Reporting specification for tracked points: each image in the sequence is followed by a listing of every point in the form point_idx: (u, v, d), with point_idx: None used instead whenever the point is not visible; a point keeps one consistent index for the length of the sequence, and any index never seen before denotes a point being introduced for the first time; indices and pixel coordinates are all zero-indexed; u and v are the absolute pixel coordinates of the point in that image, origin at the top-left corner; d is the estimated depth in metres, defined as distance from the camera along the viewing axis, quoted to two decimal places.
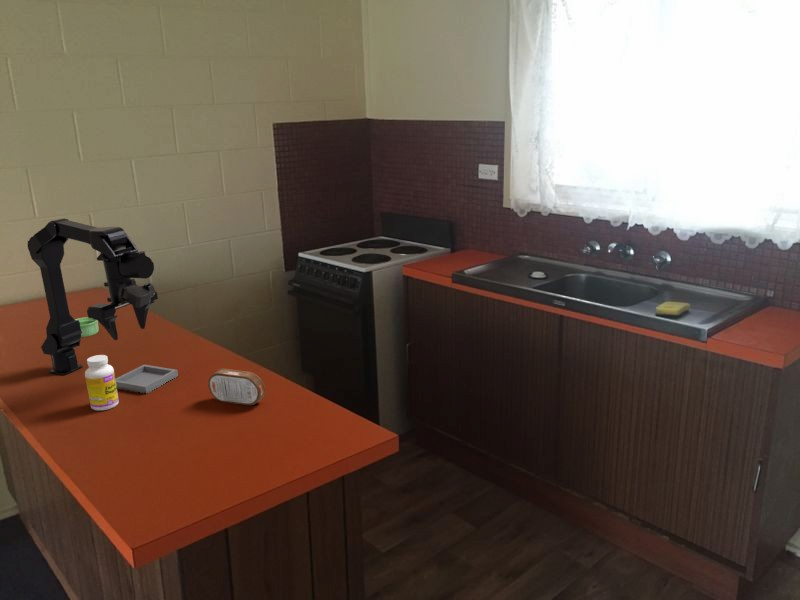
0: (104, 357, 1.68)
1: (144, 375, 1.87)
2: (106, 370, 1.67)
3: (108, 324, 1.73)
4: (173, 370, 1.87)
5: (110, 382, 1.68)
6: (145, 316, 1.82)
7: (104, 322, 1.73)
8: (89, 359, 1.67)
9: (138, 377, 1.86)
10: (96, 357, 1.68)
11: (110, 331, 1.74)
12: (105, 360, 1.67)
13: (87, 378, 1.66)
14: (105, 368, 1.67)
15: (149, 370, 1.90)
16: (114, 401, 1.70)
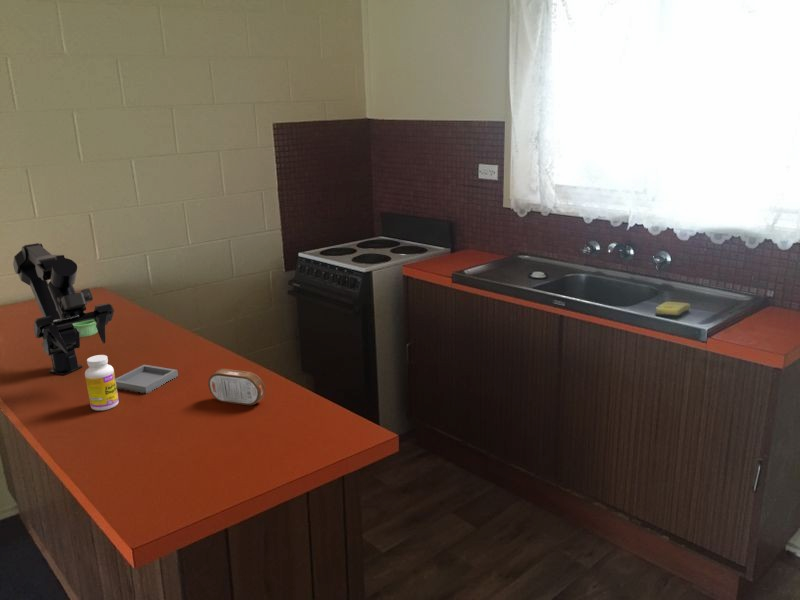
0: (104, 357, 1.68)
1: (144, 375, 1.87)
2: (106, 370, 1.67)
3: (55, 338, 1.71)
4: (173, 370, 1.87)
5: (110, 382, 1.68)
6: (102, 329, 1.77)
7: (53, 338, 1.72)
8: (89, 359, 1.67)
9: (138, 377, 1.86)
10: (96, 357, 1.68)
11: (59, 345, 1.71)
12: (105, 360, 1.67)
13: (87, 378, 1.66)
14: (105, 368, 1.67)
15: (149, 370, 1.90)
16: (114, 401, 1.70)
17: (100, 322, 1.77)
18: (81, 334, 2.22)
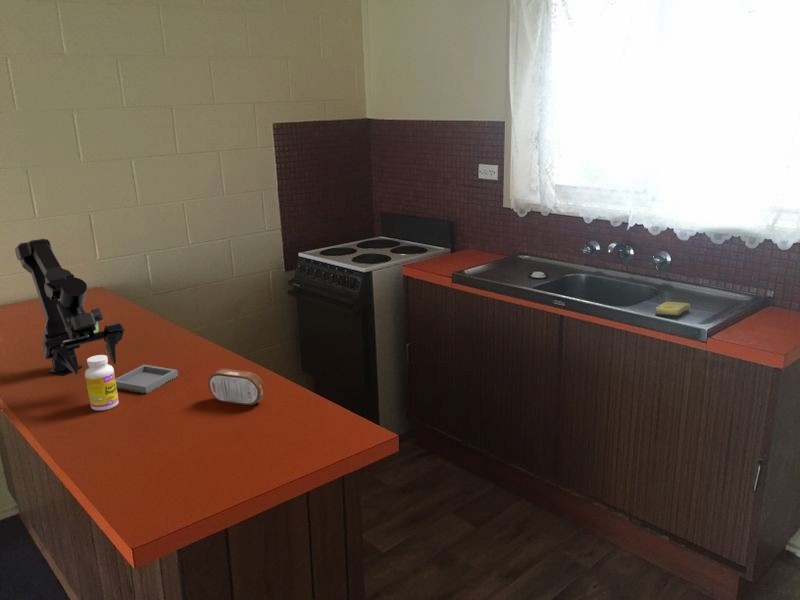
0: (104, 357, 1.68)
1: (144, 375, 1.87)
2: (106, 370, 1.67)
3: (65, 359, 1.68)
4: (173, 370, 1.87)
5: (110, 382, 1.68)
6: (113, 349, 1.73)
7: (63, 359, 1.69)
8: (89, 359, 1.67)
9: (138, 377, 1.86)
10: (96, 357, 1.68)
11: (69, 366, 1.67)
12: (105, 360, 1.67)
13: (87, 378, 1.66)
14: (105, 368, 1.67)
15: (149, 370, 1.90)
16: (114, 401, 1.70)
17: (110, 342, 1.74)
18: None
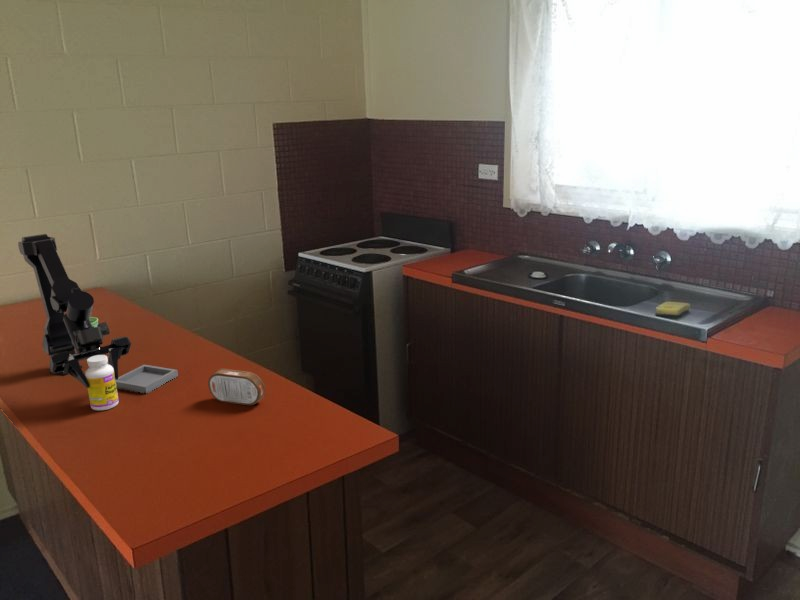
0: (104, 357, 1.68)
1: (144, 375, 1.87)
2: (106, 370, 1.67)
3: (76, 373, 1.67)
4: (173, 370, 1.87)
5: (110, 382, 1.68)
6: (115, 364, 1.71)
7: (74, 373, 1.68)
8: (89, 359, 1.67)
9: (138, 377, 1.86)
10: (96, 357, 1.68)
11: (80, 379, 1.66)
12: (105, 360, 1.67)
13: (87, 378, 1.66)
14: (105, 368, 1.67)
15: (149, 370, 1.90)
16: (114, 401, 1.70)
17: (112, 357, 1.71)
18: None
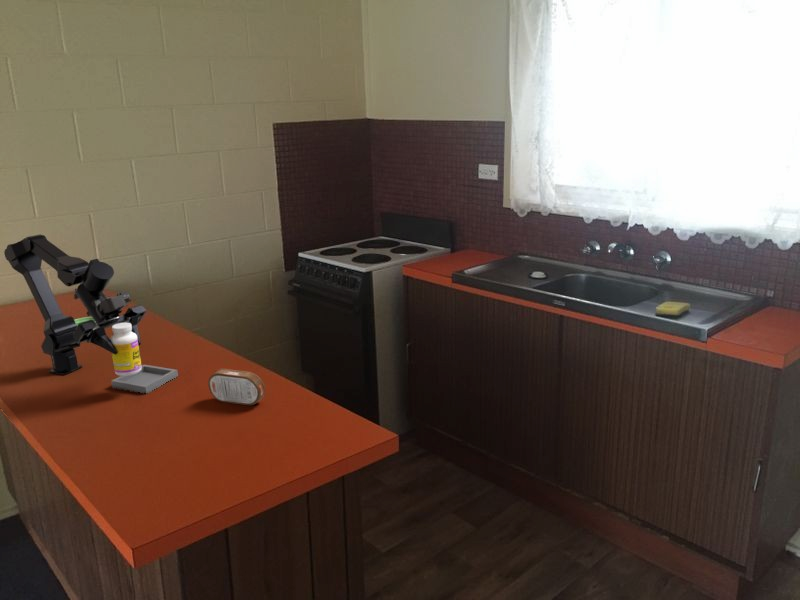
0: (128, 324, 1.74)
1: (144, 375, 1.87)
2: (133, 336, 1.74)
3: (102, 341, 1.72)
4: (173, 370, 1.87)
5: (136, 347, 1.75)
6: (136, 331, 1.78)
7: (99, 341, 1.72)
8: (114, 326, 1.73)
9: (138, 377, 1.86)
10: (120, 324, 1.74)
11: (107, 346, 1.72)
12: (131, 326, 1.74)
13: (114, 345, 1.72)
14: (131, 334, 1.74)
15: (149, 370, 1.90)
16: (140, 366, 1.77)
17: (133, 325, 1.78)
18: None
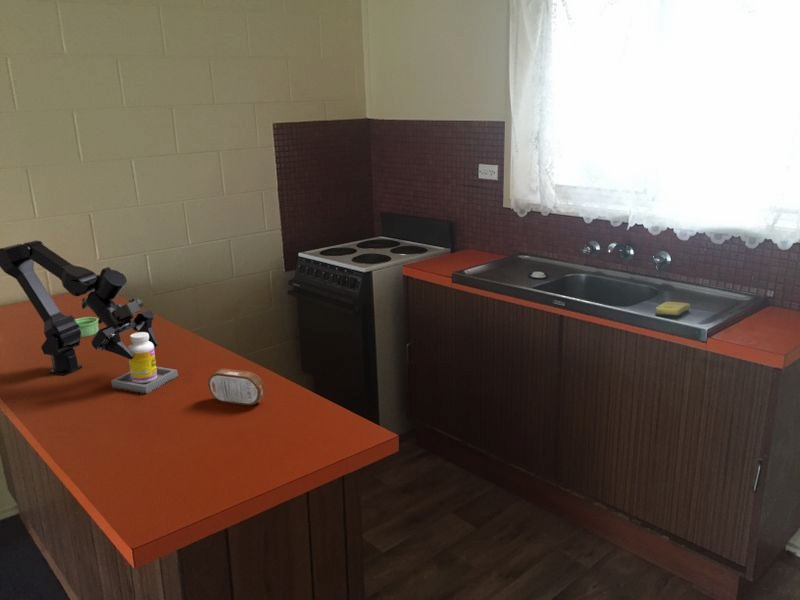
0: (145, 333, 1.82)
1: None
2: (151, 344, 1.82)
3: (117, 347, 1.77)
4: (173, 370, 1.87)
5: (154, 355, 1.83)
6: (152, 334, 1.86)
7: (113, 348, 1.77)
8: (133, 336, 1.80)
9: None
10: (137, 334, 1.81)
11: (123, 352, 1.77)
12: (148, 335, 1.82)
13: (134, 353, 1.79)
14: (149, 343, 1.82)
15: None
16: (156, 373, 1.84)
17: (148, 328, 1.86)
18: (81, 334, 2.22)
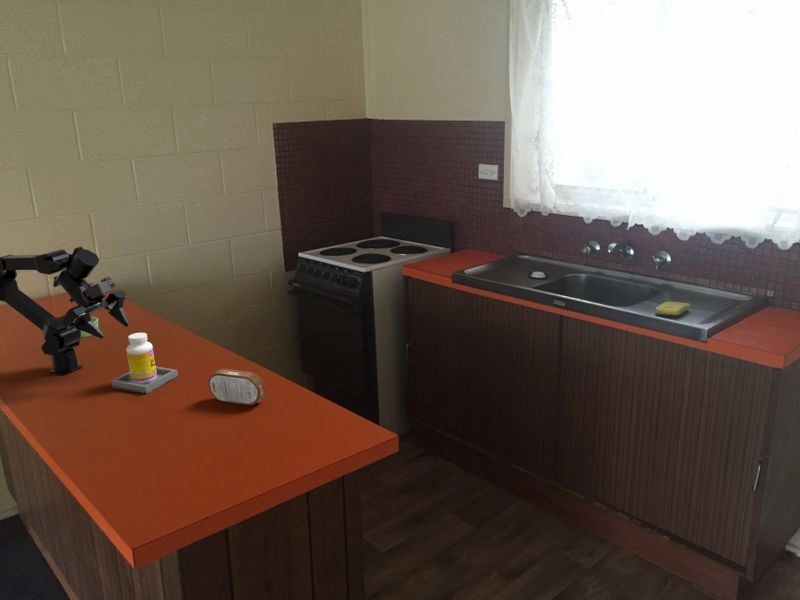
0: (143, 333, 1.82)
1: None
2: (149, 345, 1.81)
3: (88, 326, 1.79)
4: (173, 370, 1.87)
5: (153, 355, 1.82)
6: (123, 313, 1.88)
7: (84, 327, 1.79)
8: (131, 337, 1.79)
9: None
10: (135, 335, 1.81)
11: (93, 331, 1.79)
12: (146, 336, 1.81)
13: (133, 354, 1.79)
14: (147, 343, 1.82)
15: None
16: (156, 373, 1.84)
17: (119, 307, 1.88)
18: (81, 334, 2.22)
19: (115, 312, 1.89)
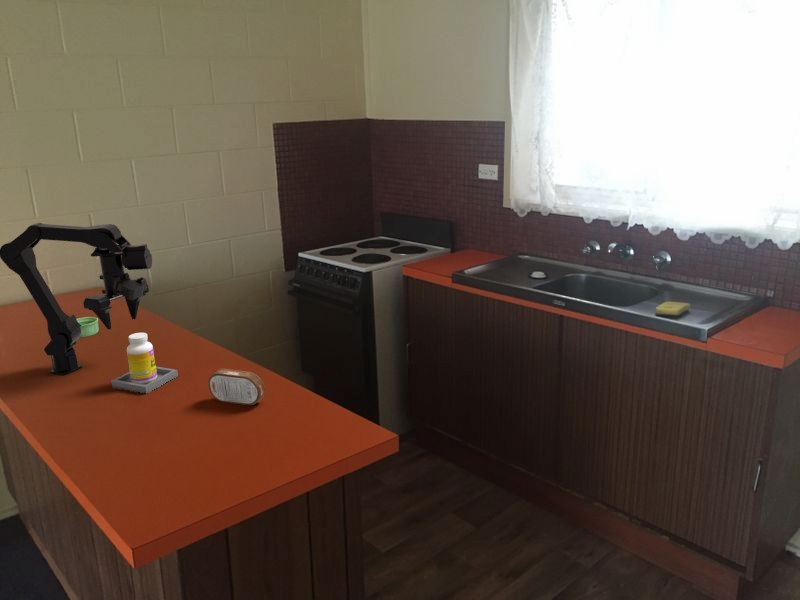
0: (144, 333, 1.82)
1: None
2: (150, 345, 1.82)
3: (102, 314, 1.86)
4: (173, 370, 1.87)
5: (153, 355, 1.82)
6: (136, 307, 1.95)
7: (99, 312, 1.86)
8: (131, 337, 1.79)
9: None
10: (135, 335, 1.81)
11: (104, 321, 1.87)
12: None
13: (134, 354, 1.79)
14: (147, 343, 1.82)
15: None
16: (156, 373, 1.84)
17: (137, 301, 1.94)
18: (81, 334, 2.22)
19: (130, 301, 1.95)
